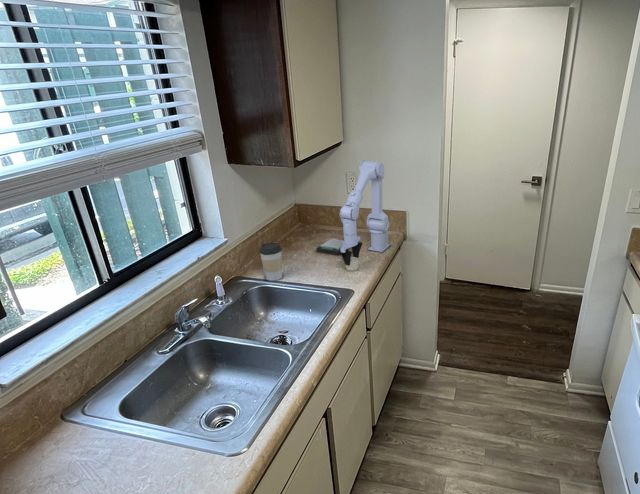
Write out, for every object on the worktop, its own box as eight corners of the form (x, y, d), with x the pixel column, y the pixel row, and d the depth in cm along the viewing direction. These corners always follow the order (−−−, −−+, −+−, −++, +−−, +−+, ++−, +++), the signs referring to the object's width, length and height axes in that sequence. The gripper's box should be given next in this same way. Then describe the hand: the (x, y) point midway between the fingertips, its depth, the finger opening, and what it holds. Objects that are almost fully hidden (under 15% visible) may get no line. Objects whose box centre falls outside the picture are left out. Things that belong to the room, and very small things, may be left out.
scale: (329, 242, 221) (329, 237, 220) (350, 246, 217) (350, 241, 216) (316, 251, 211) (316, 246, 210) (338, 255, 207) (337, 250, 206)
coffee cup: (288, 272, 190) (284, 241, 184) (280, 282, 182) (276, 249, 176) (268, 271, 191) (263, 240, 185) (259, 281, 183) (254, 248, 177)
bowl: (349, 264, 197) (349, 256, 196) (360, 266, 196) (360, 258, 194) (343, 269, 193) (343, 260, 191) (354, 272, 191) (354, 263, 189)
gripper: (350, 226, 195) (351, 253, 200) (333, 237, 183) (335, 266, 188) (364, 228, 192) (365, 256, 198) (348, 239, 180) (349, 269, 186)
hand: (351, 261), depth 193 cm, fingers open, 7 cm apart
